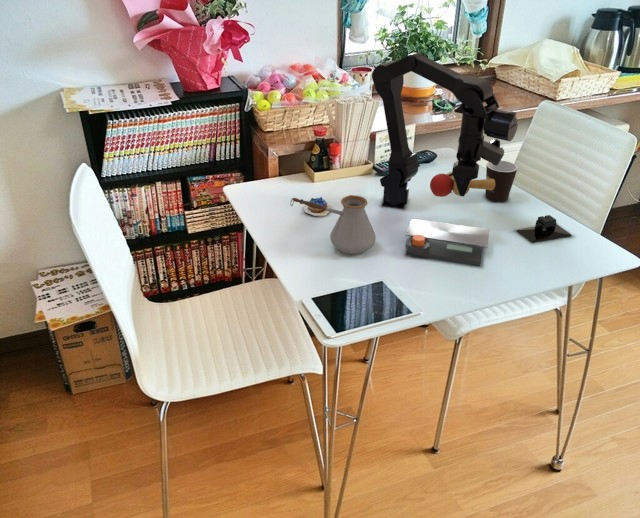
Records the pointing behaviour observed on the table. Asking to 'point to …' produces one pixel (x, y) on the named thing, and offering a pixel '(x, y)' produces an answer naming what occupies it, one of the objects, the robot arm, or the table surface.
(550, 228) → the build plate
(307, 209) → the dessert
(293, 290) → the table surface
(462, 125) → the robot arm
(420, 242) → the button
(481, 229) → the pan
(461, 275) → the table surface
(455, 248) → the scale display
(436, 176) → the kendama
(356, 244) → the coffee pot
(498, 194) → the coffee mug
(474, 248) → the scale
